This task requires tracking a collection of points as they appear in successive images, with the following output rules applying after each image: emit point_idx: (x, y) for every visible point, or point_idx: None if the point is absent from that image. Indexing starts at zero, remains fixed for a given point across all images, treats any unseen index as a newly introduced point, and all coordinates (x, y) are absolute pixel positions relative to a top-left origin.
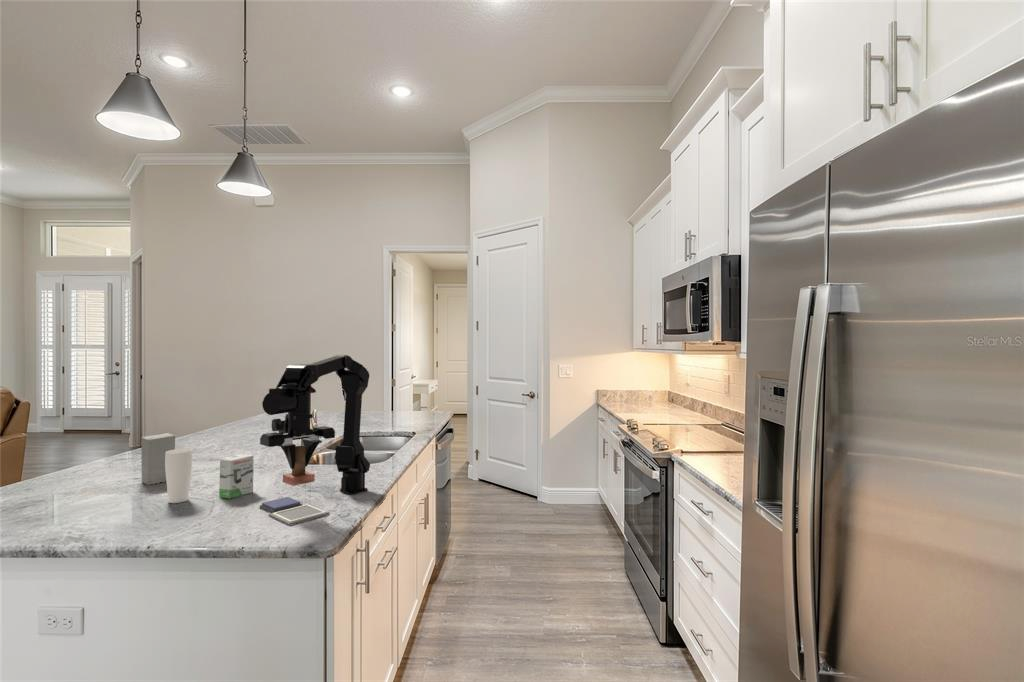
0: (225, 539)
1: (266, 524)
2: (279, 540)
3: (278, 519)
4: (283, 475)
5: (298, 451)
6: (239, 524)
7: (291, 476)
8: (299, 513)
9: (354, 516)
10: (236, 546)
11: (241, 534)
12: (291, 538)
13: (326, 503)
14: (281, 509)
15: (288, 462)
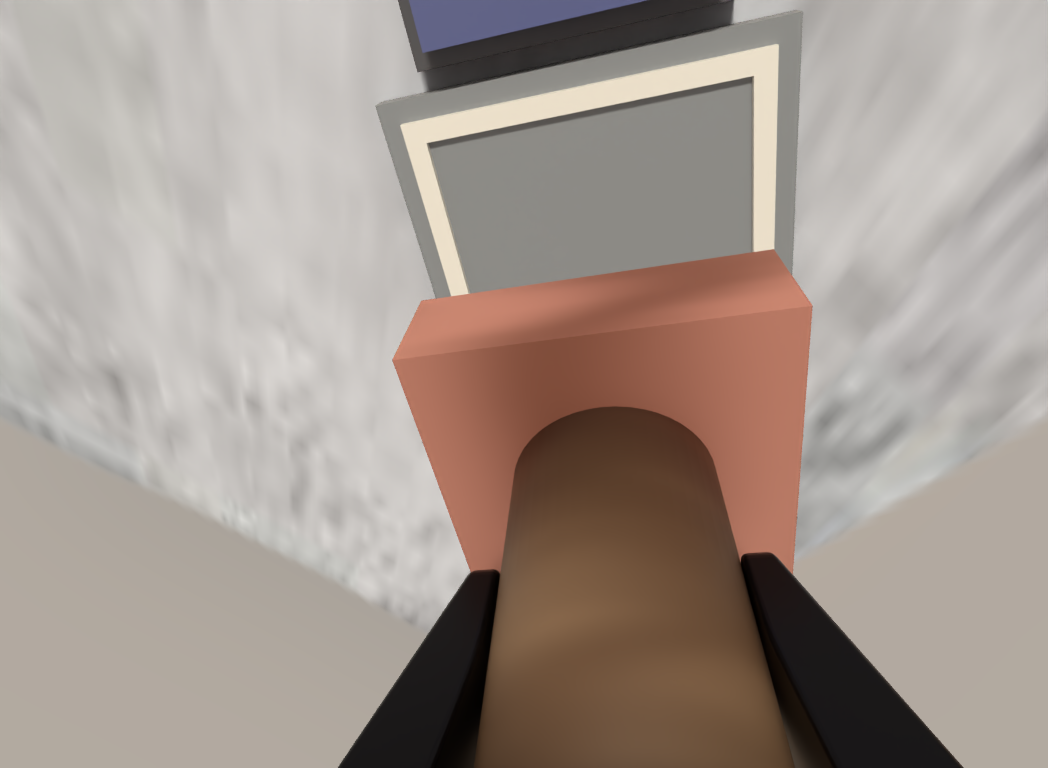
0: (130, 401)
1: (351, 299)
2: (393, 555)
3: (433, 284)
4: (404, 376)
5: None
6: (161, 172)
7: (487, 527)
8: (601, 270)
9: (873, 495)
10: (205, 512)
11: (206, 380)
12: (447, 564)
13: (990, 34)
14: (500, 51)
15: (408, 672)
